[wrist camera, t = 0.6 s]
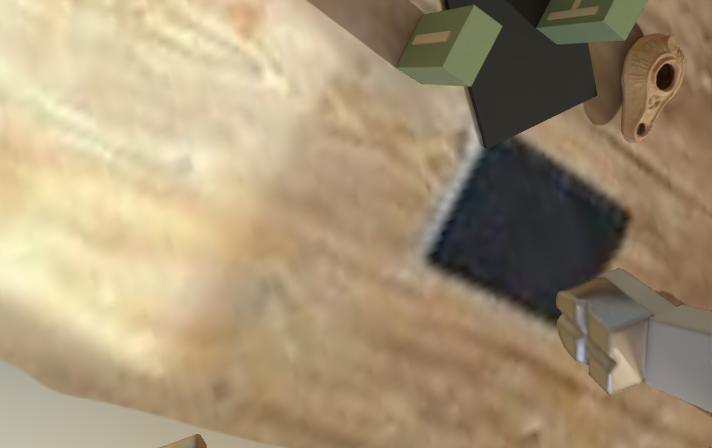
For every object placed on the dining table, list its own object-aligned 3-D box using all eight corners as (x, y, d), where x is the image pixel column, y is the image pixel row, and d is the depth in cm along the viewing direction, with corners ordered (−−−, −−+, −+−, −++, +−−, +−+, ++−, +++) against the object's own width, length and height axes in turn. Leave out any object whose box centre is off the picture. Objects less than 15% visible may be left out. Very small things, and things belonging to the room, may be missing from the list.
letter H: (534, 27, 61) (601, 19, 52) (560, -23, 60) (633, -39, 51) (556, 44, 62) (625, 40, 53) (582, -4, 62) (656, -17, 53)
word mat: (429, -53, 55) (432, -54, 55) (557, -102, 58) (561, -103, 58) (484, 148, 63) (487, 148, 63) (593, 95, 67) (597, 95, 66)
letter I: (394, 66, 57) (440, 66, 48) (421, 13, 57) (472, 3, 48) (421, 84, 59) (471, 86, 50) (447, 32, 58) (502, 26, 49)
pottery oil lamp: (590, 134, 67) (623, 112, 60) (605, 47, 70) (639, 17, 63) (656, 153, 68) (697, 134, 61) (670, 67, 70) (710, 39, 63)
